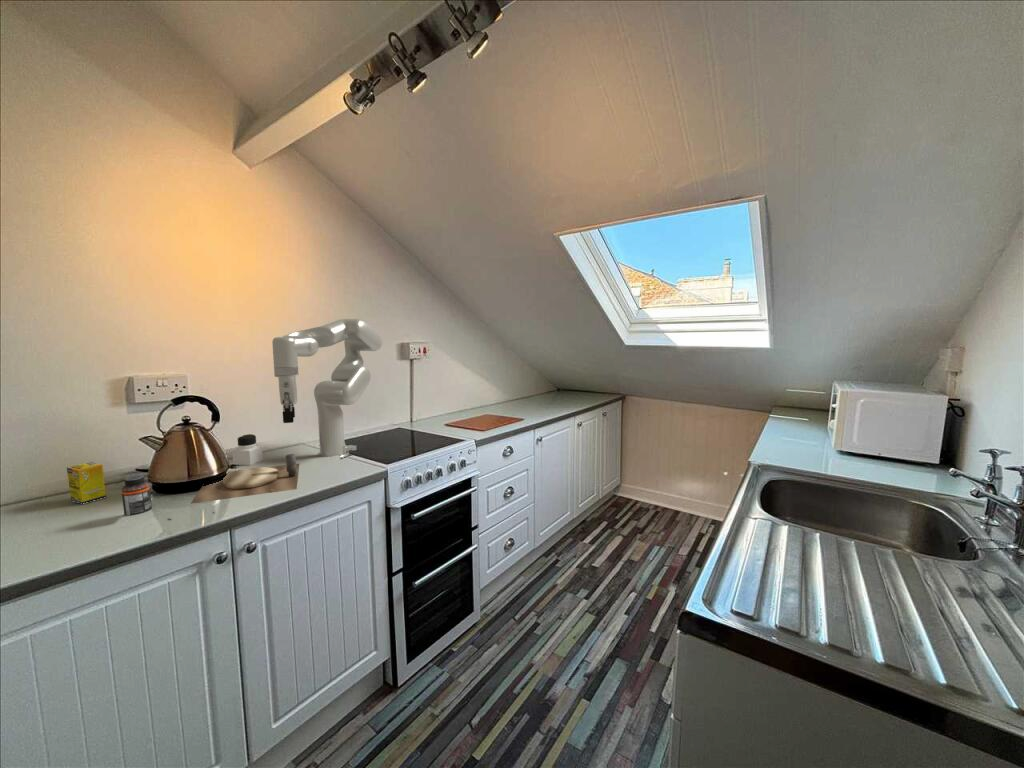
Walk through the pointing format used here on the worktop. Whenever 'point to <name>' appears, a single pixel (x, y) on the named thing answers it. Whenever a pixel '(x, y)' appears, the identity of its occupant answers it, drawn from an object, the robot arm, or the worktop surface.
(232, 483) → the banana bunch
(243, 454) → the medicine bottle
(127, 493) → the supplement bottle
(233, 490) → the walnut board
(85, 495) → the supplement box
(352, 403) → the robot arm
